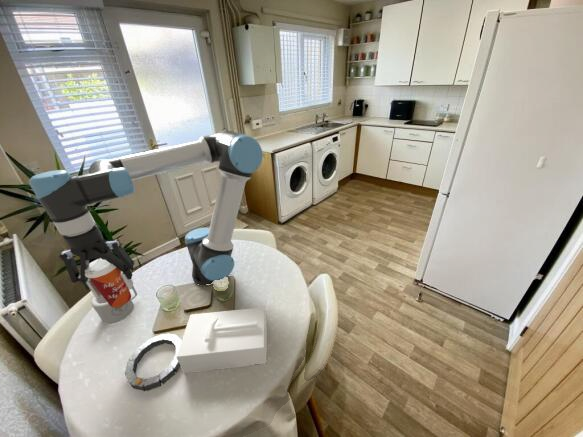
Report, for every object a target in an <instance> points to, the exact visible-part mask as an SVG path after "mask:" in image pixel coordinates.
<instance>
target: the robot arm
mask: <svg viewBox="0 0 583 437" xmlns="http://www.w3.org/2000/svg"><path fill="white" fill-rule="evenodd" d="M263 154H264V153H263V149H262V147H261V144H260V143H259V141H258V140H257V139H255V138H254V137H253V136H250V135H247V134H244V133H241V132H235V131H231V130H227V131H226V130H225V131H220V132H217V133H212V134H209V135H204V136H201V137H199V139H198V140H196V141H191V142H186V143H181V144H178V145H172V146H168V147H167V146H166V147H162V148H158V149H153V150H148V151H145V152H139V153H134V154H129V155H125V156H121V157H115V158H110V159H107V158H106V159H105V158H100V159H97V160H95V161H93V162H92V163H91V164H90V166H89V169H88V173H86V174H82V175H76V176H73V175H71V174H70V173H69V172H68V171H67V170H65V169H64V170H63V169H57V170H50V171H45V172H41V173H38V174H35V175H33V176H31V178H30V179H29V181H28V184H29V186H30V187H31V189H32V192H33V193H34V194H35V198H36V199H37V200H38V202H39V203H40V205H42V208H43V209H44V210H45V212H46V213H47V215H48V216H49V218H50V220H51V221H52V223H53V225H54V226H55V228H56V229H57V231H58V233H59V234H60V235H61V236H62V239H63V241H64V242H65V243H66V244H67V246H68V247H69V248H70V249H63V251H62V252H61V253H60V255H59V256H58V257H59V258H60V260H62V261H63V263H64V265H65V268H66V270H67V272H68V276H69V278H70V281H71V282H72V283H73V284H77V283H78V282H80V283H82V284H83V286H84V288H85V289H87V290H90V291H91V292H92V294H93V297H94V296H95V297H96V298H99V297H100V294H101V293H100V292H99V291H98V290H97V288H96V287H95V286H94V284H93V283H92V282H91V280H90V279H89V278H87V277H86V276H85V270H86V269H87V267H88V265H89V264H90V261H91V260H93V259H100V258H101V259H103V260H106V261H108V262H109V263H111V264H113V265H114V266H116V268H118V269H119V270H121V276H122V278H123V280H124V281H125V283H126V285H127V287H128V289H129V290H133V289H132V286H134V281H133V278H132V277H133V273H132V270H133V268H134V265H135V261H134V260H133V259H132V257H131V256H130V255H129V253H127V252H126V250H125V249H124V248H123V247H122V245H121V242H120V239H118V238H115V239H114V240H110V241H109V240H107V239H105V238H104V236H103V234H102V231H101V230H100V227H99V226H98V225H97V224H96V221H95V220H94V219H95V218H94V217H93V216H92V214H91V212H90V210H89V208H88V207H87V206H89V205H94V204H98V203H102V202H106V201H110V200H114V199H118V198H123V197H126V196H129V195H132V194H134V193H135V191H136V188H135V185H134V183H133V181H135V180H139V179H143V178H147V177H150V176H155V175H159V174H163V173H166V172H170V171H174V170H179V169H182V168H186V167H189V166H194V165H197V164H198V165H199V164H202V163H207V164H213V163H219V165H218V171H219V172H220V174H221V176H220V180H219V185H218V189H217V194H216V197H215V202H214V208H213V212H212V216H211V221H210V225H209V227H198V228H194V229H193V230H191V231H189V232H188V233H186V235H185V236H184V243H185V245H186V247H187V250H188V254H189V257H190V260H191V263H192V270H191V277H192V281H193V282H194V284H196V285H197V284H199V285H198V286H200V285H206V284H211V283H212V282H213V281H214V280H220V279H222V280H223V279H224V278H226V277H227V276H229V275H230V274H231V273H232V272H233V270H234V268H235V260H234V258H233V256H232V254H233V250H234V243H233V242H232V237H233V233H234V230H235V226H236V221H237V218H238V215H239V214H238V213H239V211H240V207H241V201H242V198H243V195H244V190H245V186H246V183H247V182H248V181H249V180H251V179H252V177H253V173H254V172H256V171H257V169H259V168H260V166H261V165H262V162H263V157H264V155H263ZM108 247H109V248H110V249H111V250H112V251H113V252H114V253H115V254H116V255H115V254H114V253H112V251H111V250H110V249H109V248H108ZM74 255H75V256H77V257H79V259H80V260H79V265H80V271H79V268H78V265H77V263H76V259H75V257H74ZM131 269H132V270H131Z"/></svg>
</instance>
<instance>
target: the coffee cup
mask: <svg viewBox="0 0 583 437" xmlns="http://www.w3.org/2000/svg"><path fill="white" fill-rule="evenodd" d="M85 276H86V277H87V278H89V279H90V280H91V282H92V283H93V284H94V286H95V287H96V288H97V290H98V291H99V292H100V293H101V295H102V296H103V297H104V299H105V300H106V301H107V303H108V304H109V305H110V306H111V307H113V308H117V307H121V306H123V305H125V304H126V303H127V302H128V301H129V300H130V299H131V298H132V294H131V292H130V289H128V287H127V285H126V283H125V281H124V280H123V278H122V276H121V270H119V269H118V268H116V266H114V265H113V264H111V263H109V262H108V261H106V260H103V259H101V258H96V259H95V260H93V261H91V262H89V265H88V267H87V269H86V270H85Z"/></svg>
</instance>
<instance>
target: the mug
mask: <svg viewBox="0 0 583 437" xmlns="http://www.w3.org/2000/svg"><path fill="white" fill-rule="evenodd" d="M131 290H132V291H133V293H134V295H133V296H131V299H130V300H129V301H128V302H127V303H126V304H125V305H123V306H121V307H117V308H113V307H111V306H110V305H109V304H108V303H107V301H106V300H105V299H104V297H103V296H102V295H101V294H100V297H99V298H96V297H95V296H94V295H93V297H92V299H91V302H90V304H91V306H92V307H93V309H94V311H95V312H96V313H97V315H98V317H99V318H100V319H101V321H102V322H103V323H104V324H107V325H111V324H116V323H119V322H121V321H123V320H124V319H126V318H128V317H129V316H130V315H131V313H132V312H133V311H134V308H135V303H134V302H133V300H134V299H135V298H136V297H137V296H138V292H137V291H136V289H135V286H134V285H133V286H132V289H131Z"/></svg>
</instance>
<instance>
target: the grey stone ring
mask: <svg viewBox="0 0 583 437" xmlns="http://www.w3.org/2000/svg"><path fill="white" fill-rule="evenodd" d="M181 341H182V339H181V338H179V337H178V335H176V334H171V333H162V334H159V335H156V336H154V337H153V336H152V337H151V338H149V339H147V340H146V341H145V342H143V343H142V344H140V345H139V346H138V347H137V348H136V349H135V350H134V352H133V353H132V354H131V356H130V357H129V358H128V361H127V362H126V366H125V371H124V376H125V378H126V380H127V382H128V383H129V385H130V387H131V388H132V389H133V390H136V391H142V392H148V391H151V390H153V389H156V388H159V387H162V385H163V386H164V385H165V384H166V383H167V382H168V381H170V380H171V379H172V378H173V377H174V376H176V373H178V371H179V370H180V368H181V366H180V364H179V362H178V360H177V358H176V356H177V353H178V350H179V347H180V344H181ZM162 345H169V346H170V345H171V346H174V348H175V355H174V357H173V359H172V361H171V362H170V364H169V366H167V367H166V368H165V369H163V370H162V371H161V372H160V373H159V374H156V375H154V376H153V375H152V376H150V377H148V378H142V377H138V376H137V374H136V373H137V370H138V369H137V368H138V365H139V364H140V362H141V361H142V360H143V358H144V357H145V355H146V354H147V353H149V352H150V351H152V350H153V349H154V348H157V347H160V346H162Z"/></svg>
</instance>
